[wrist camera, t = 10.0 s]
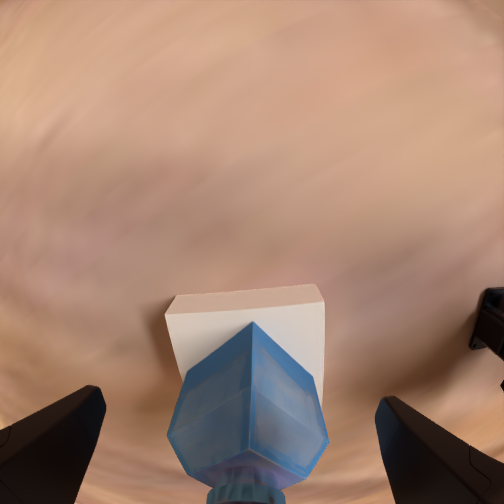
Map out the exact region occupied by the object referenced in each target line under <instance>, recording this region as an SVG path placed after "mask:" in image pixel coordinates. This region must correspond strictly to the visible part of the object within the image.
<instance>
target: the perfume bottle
mask: <svg viewBox="0 0 504 504" xmlns="http://www.w3.org/2000/svg"><path fill="white" fill-rule="evenodd" d="M167 437H168V439H169V441H170V443H171V445H172V447H173V449H174V451H175V453H176V455H177V457H178V459H179V461H180V462H181V464H182V466H183V468H184V470H185V471H186V473H187V475H189V476H191V477H192V478H194V479H196V480H198V481H200V482H202V483H204V484H206V485H208V486H210V487H212V488H213V489H211V490H210V491H209V493H208V495H207V502H206V504H286V503H285V496H284V494H283V492H281V491H280V490H281V489H284V488H287V487H289V486H291V485H294V484H296V483H299V482H301V481H303V480H306V479H307V477H308V476H309V474H310V473H311V471H312V470H313V468H314V466H315V465H316V463H317V462H318V460H319V458H320V457H321V455H322V453H323V452H324V450H325V448H326V447H327V445H328V443H329V438H328V434H327V430H326V426H325V422H324V418H323V414H322V410H321V406H320V402H319V398H318V394H317V390H316V386H315V382H314V378H313V376H312V375H311V374H310V373H309V372H307V371H306V370H305V369H304V368H303V367H302V366H301V365H300V364H299V363H298V362H296V361H295V360H294V359H293V358H292V357H291V356H290V355H289V354H288V353H287V352H286V351H284V350H283V349H282V348H281V347H280V346H279V345H278V344H277V343H276V342H275V341H274V340H273V339H272V338H270V337H269V336H268V335H267V334H266V333H265V332H264V331H263V330H262V329H261V328H260V327H259V326H258V325H257V324H256V323H255V322H254V321H252V322H251V323H250V324H249V325H247V326H246V327H245V328H244V329H242V330H241V331H240V332H238V333H237V334H236V335H235V336H233V337H232V338H231V339H229V340H228V341H227V342H225V343H224V344H223V345H222V346H220V347H219V348H218V349H216V350H215V351H214V352H212V353H211V354H210V355H208V356H207V357H206V358H204V359H203V360H202V361H200V362H199V363H198V364H196V365H195V366H194V367H192V368H191V369H189V370H188V371H187V373H186V376H185V379H184V382H183V385H182V389H181V392H180V395H179V398H178V401H177V404H176V407H175V410H174V413H173V417H172V420H171V423H170V426H169V429H168V432H167Z"/></svg>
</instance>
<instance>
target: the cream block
mask: <svg viewBox="0 0 504 504" xmlns="http://www.w3.org/2000/svg"><path fill="white" fill-rule="evenodd" d="M165 318H166V323H167V327H168V331H169V335H170V339H171V343H172V347H173V350H174V354H175V358H176V361H177V365H178V369H179V372H180V375H181V379H182V382H184V379H185V376H186V373H187V371H188V370H189V369H191V368H192V367H194V366H195V365H196V364H198V363H199V362H200V361H202V360H203V359H204V358H206V357H207V356H208V355H210V354H211V353H212V352H214V351H215V350H216V349H218V348H219V347H220V346H222V345H223V344H224V343H225V342H227V341H228V340H229V339H231V338H232V337H233V336H235V335H236V334H237V333H238V332H240V331H241V330H242V329H244V328H245V327H246V326H247V325H249V324H250V323H251V322H252V321H254V322H255V323H256V324H257V325H258V326H259V327H260V328H261V329H262V330H263V331H264V332H265V333H266V334H267V335H268V336H269V337H270V338H272V339H273V340H274V341H275V342H276V343H277V344H278V345H279V346H280V347H281V348H282V349H283V350H284V351H286V352H287V353H288V354H289V355H290V356H291V357H292V358H293V359H294V360H295V361H296V362H298V363H299V364H300V365H301V366H302V367H303V368H304V369H305V370H306V371H307V372H309V373H310V374H311V375H312V376H313V378H314V382H315V386H316V390H317V394H318V398H319V402H320V406H321V410H322V397H323V374H324V326H325V307H324V300H323V298H322V296H321V294H320V292H319V290H318V288H317V286H316V284H306V285H296V286H286V287H276V288H265V289H254V290H242V291H230V292H217V293H203V294H189V295H176V297H175V299H174V300H173V302H172V303H171V305H170V307H169V308H168V310H167V311H166V313H165Z"/></svg>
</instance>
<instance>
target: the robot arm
mask: <svg viewBox="0 0 504 504" xmlns="http://www.w3.org/2000/svg"><path fill="white" fill-rule="evenodd" d="M485 347H488V348H489V349H490V350H491V351H492V352H493V353H494V354H495V355H497V356H499V357H500V358H501V359H502V360H503V361H504V287H496V288H488V289H487V290H486V292H485V296H484V300H483V303H482V307H481V310H480V314H479V317H478V320H477V324H476V327H475V330H474V333H473V336H472V339H471V341H470V344H469V348H470V349H471V350H476V349H481V348H485ZM500 386H501V388H502V389H503V391H504V380H503V382H502V383H501V385H500ZM105 413H106V403H105V400H104V398H103V395H102V392H101V389H100V388H99V387H97V386H93V385H87V386H85V387H83V388H81V389H79V390H77V391H75V392H74V393H72V394H70V395H68V396H66V397H64V398H62V399H60V400H59V401H57V402H55V403H53V404H51V405H49V406H47V407H45V408H43V409H41V410H39V411H37V412H36V413H34V414H32V415H30V416H28V417H26V418H24V419H22V420H20V421H18V422H16V423H14V424H12V425H10V426H8V427H6V428H4V429H1V430H0V504H74V503H75V500H76V497H77V494H78V492H79V489H80V486H81V483H82V481H83V478H84V475H85V473H86V470H87V468H88V465H89V463H90V460H91V457H92V455H93V452H94V450H95V447H96V444H97V441H98V437H99V434H100V430H101V427H102V423H103V420H104V416H105ZM375 424H376V429H377V434H378V440H379V445H380V450H381V455H382V460H383V463H384V466H385V470H386V473H387V476H388V479H389V483H390V486H391V490H392V493H393V496H394V500H395V503H396V504H504V463H502V462H500V461H498V460H496V459H493V458H491V457H489V456H488V455H486V454H484V453H482V452H481V451H479V450H477V449H476V448H474V447H472V446H471V445H470V446H469V444H467V443H466V442H464V441H463V440H461V439H459V438H458V437H456V436H455V435H453V434H452V433H450V432H448V431H447V430H445V429H444V428H442V427H441V426H439V425H438V424H436V423H435V422H433V421H431V420H430V419H428V418H427V417H425V416H424V415H422V414H421V413H419V412H418V411H416V410H415V409H413V408H412V407H410V406H409V405H407V404H406V403H404V402H403V401H401V400H400V399H398V398H397V397H395V396H387V397H383V398H382V399H381V400H380V403H379V406H378V408H377V411H376V414H375Z"/></svg>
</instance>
